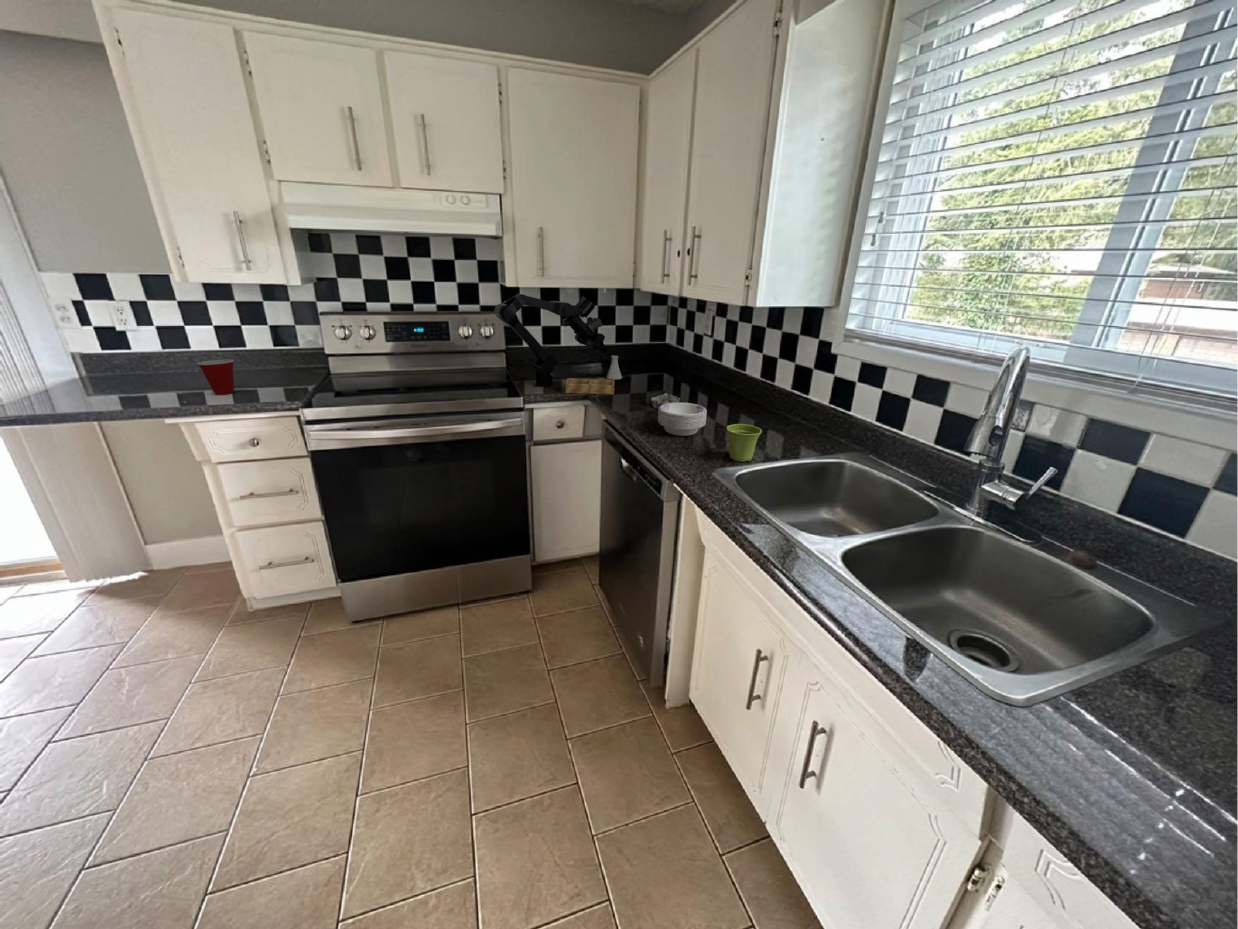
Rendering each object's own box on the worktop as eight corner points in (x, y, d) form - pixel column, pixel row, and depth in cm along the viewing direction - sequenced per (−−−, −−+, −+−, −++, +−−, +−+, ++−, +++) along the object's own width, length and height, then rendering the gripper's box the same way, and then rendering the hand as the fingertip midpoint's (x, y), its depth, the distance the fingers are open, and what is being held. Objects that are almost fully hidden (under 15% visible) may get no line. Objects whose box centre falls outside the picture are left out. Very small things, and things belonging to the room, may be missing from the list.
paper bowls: (654, 424, 167) (655, 401, 164) (698, 424, 169) (701, 401, 166) (660, 439, 153) (662, 414, 150) (709, 439, 155) (712, 415, 152)
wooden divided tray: (565, 392, 201) (565, 384, 200) (567, 386, 211) (567, 378, 209) (614, 394, 202) (614, 385, 200) (613, 388, 211) (614, 379, 210)
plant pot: (720, 461, 138) (724, 431, 135) (726, 450, 147) (729, 422, 143) (755, 466, 135) (759, 436, 132) (759, 455, 144) (763, 426, 140)
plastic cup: (233, 387, 191) (224, 356, 186) (248, 392, 186) (239, 359, 182) (199, 393, 182) (190, 360, 178) (214, 398, 177) (205, 364, 173)
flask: (622, 376, 232) (623, 355, 228) (621, 380, 225) (622, 358, 221) (607, 376, 232) (607, 354, 229) (605, 379, 226) (605, 357, 222)
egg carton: (665, 410, 183) (666, 400, 181) (648, 406, 187) (649, 396, 185) (681, 405, 190) (682, 394, 189) (665, 401, 195) (666, 390, 193)
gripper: (601, 313, 204) (623, 340, 214) (581, 309, 219) (602, 333, 228) (584, 334, 203) (607, 359, 213) (564, 328, 218) (587, 352, 228)
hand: (601, 350), depth 220 cm, fingers open, 9 cm apart
